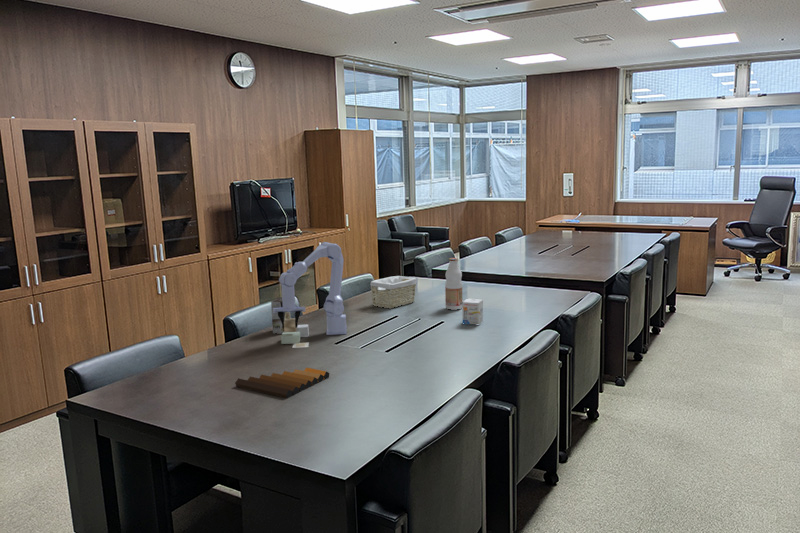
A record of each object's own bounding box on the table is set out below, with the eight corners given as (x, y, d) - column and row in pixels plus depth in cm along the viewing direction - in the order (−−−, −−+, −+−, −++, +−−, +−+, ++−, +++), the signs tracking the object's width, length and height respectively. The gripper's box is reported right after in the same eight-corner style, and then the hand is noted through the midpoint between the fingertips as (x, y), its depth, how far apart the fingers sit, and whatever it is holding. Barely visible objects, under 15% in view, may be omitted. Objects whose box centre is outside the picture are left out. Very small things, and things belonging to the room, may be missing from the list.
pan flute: (235, 388, 231) (286, 400, 218) (234, 379, 230) (285, 391, 217) (280, 368, 252) (329, 378, 239) (280, 360, 251) (329, 369, 238)
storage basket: (397, 298, 371) (396, 274, 368) (418, 302, 360) (417, 277, 357) (369, 306, 353) (368, 281, 350) (390, 310, 342) (390, 284, 340)
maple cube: (296, 328, 289) (295, 318, 288) (295, 331, 284) (294, 321, 283) (285, 329, 288) (284, 318, 287) (284, 332, 283) (283, 321, 283)
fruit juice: (448, 311, 337) (447, 260, 333) (443, 307, 346) (442, 257, 342) (464, 309, 339) (464, 259, 335) (459, 305, 348) (459, 256, 344)
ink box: (462, 324, 309) (461, 301, 307) (466, 320, 317) (466, 298, 315) (478, 325, 306) (478, 302, 304) (483, 321, 314) (483, 299, 312)
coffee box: (284, 334, 300) (283, 301, 298) (272, 333, 302) (270, 301, 299) (291, 329, 309) (290, 297, 306) (279, 328, 310) (277, 297, 308)
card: (309, 343, 284) (309, 342, 284) (308, 347, 277) (308, 346, 277) (293, 343, 284) (293, 342, 284) (292, 348, 277) (292, 347, 277)
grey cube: (308, 334, 299) (308, 324, 298) (308, 337, 294) (307, 327, 293) (298, 334, 299) (297, 324, 298) (297, 337, 294) (297, 327, 293)
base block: (300, 339, 291) (300, 331, 291) (299, 343, 283) (298, 335, 283) (283, 339, 291) (282, 332, 290) (281, 344, 283) (281, 336, 282)
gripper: (271, 301, 279) (273, 330, 281) (303, 299, 280) (305, 328, 283) (273, 297, 286) (275, 326, 288) (305, 296, 287) (306, 324, 289)
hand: (290, 327), depth 286 cm, fingers closed on maple cube, 5 cm apart
